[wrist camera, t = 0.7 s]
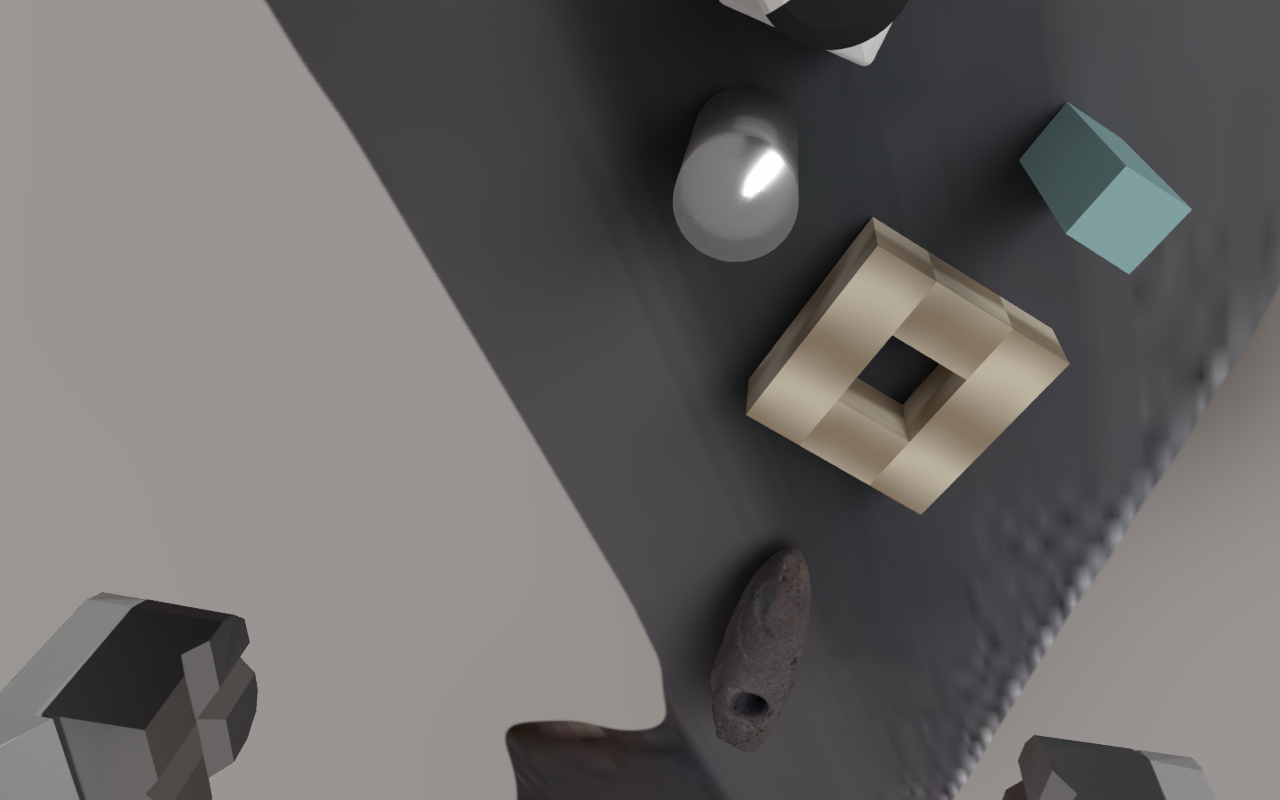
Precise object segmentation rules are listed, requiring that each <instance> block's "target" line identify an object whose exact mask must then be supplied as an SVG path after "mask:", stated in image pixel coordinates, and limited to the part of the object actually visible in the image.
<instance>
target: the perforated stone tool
mask: <svg viewBox="0 0 1280 800" xmlns="http://www.w3.org/2000/svg"><path fill="white" fill-rule="evenodd" d="M810 604H811V586H810V578H809V571H808V567H807V564H806V561H805V558H804V557H803V555H802V553H801V552H800V550H799V549H798V548H796V547H795V546H794V547H787V548H784V549H781V550H780V551H778V552H777V553H775V554H774V555H773V556H771V557H770V558H769V559H768V560H767V561H766V562H765V563H764V564H763V565H762V566H761V567H760V568H759V569H758V571H757V572H756V573H755V575H754V576H753V577H752V579H751V580H750V582H749V583H748V585H747V587H746V589H745V590H744V592H743V594H742V596H741V598H740V600H739V602H738V604H737V606H736V608H735V610H734V612H733V614H732V617H731V619H730V621H729V624H728V626H727V628H726V631H725V634H724V637H723V643H722V645H721V648H720V650H719V652H718V654H717V657H716V660H715V663H714V665H713V668H712V671H711V674H710V677H709V687H710V690H711V692H712V698H713V705H712V711H713V720H714V723H715V728H716V736H717V737H718V738H719V739H720V740H723V741H724V742H726V743H728V744H732V746H734V747H736V748H739V749H740V750H741V751H744V752H754V751H756V750H757V749H758V748H759V747H760V746H761V744H762V743H763V741H764V740H765V739H766V737H767V736H768V734H769V733H770V731H771V729H772V728H773V726H774V724H775V722H776V720H777V719H778V717H779V715H780V713H781V711H782V709H783V707H784V705H785V702H786V700H787V697H788V695H789V693H790V690H791V688H792V685H793V683H794V681H795V678H796V675H797V672H798V669H799V666H800V663H801V659H802V656H803V652H804V648H805V643H806V638H807V632H808V625H809V616H810Z"/></svg>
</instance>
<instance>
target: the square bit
mask: <svg viewBox="0 0 1280 800" xmlns="http://www.w3.org/2000/svg"><path fill="white" fill-rule="evenodd" d="M1019 161H1020V163H1021V164H1022V166H1023V167H1024V169H1025V170H1026V172H1027V174H1028V175H1029V177H1030V178H1031V180H1032V181H1033V183H1034V185H1035V186H1036V188H1037V189H1038V191H1039V192H1040V194H1041V196H1042V197H1043V199H1044V200H1045V202H1046V203H1047V205H1048V207H1049V208H1050V210H1051V211H1052V213H1053V214H1054V216H1055V217H1056V219H1057V221H1058V222H1059V224H1060V225H1061V227H1062V228H1063V230H1064V232H1065V233H1066V234H1067V235H1069V236H1070V237H1072V238H1074V239H1075V240H1077V241H1078V242H1080V243H1081V244H1083V245H1084V246H1086V247H1088V248H1089V249H1091V250H1092V251H1094V252H1095V253H1097V254H1098V255H1100V256H1101V257H1103V258H1105V259H1106V260H1108V261H1109V262H1111V263H1112V264H1114V265H1115V266H1117V267H1119V268H1120V269H1122V270H1123V271H1125V272H1126V273H1128V274H1130V273H1131V272H1132V271H1133V270H1134V269H1135V268H1136V267H1137V266H1138V265H1139V264H1140V263H1141V262H1142V261H1143V260H1144V259H1145V258H1146V257H1147V256H1148V254H1149V253H1150V252H1151V251H1152V250H1153V249H1154V248H1155V247H1156V246H1157V245H1158V244H1159V243H1160V242H1161V241H1162V240H1163V239H1164V238H1165V237H1166V236H1167V235H1168V234H1169V233H1170V232H1171V231H1172V230H1173V229H1174V228H1175V227H1176V225H1177V224H1178V223H1179V222H1180V221H1181V220H1182V219H1183V218H1184V217H1185V216H1186V215H1187V214H1188V213H1189V212H1190V211H1191V210H1192V209H1191V208H1190V207H1189V206H1188V205H1187V204H1186V203H1185V202H1184V201H1183V200H1182V199H1181V198H1180V197H1179V196H1178V195H1177V194H1176V193H1175V192H1174V191H1173V190H1172V189H1171V188H1170V187H1169V186H1168V185H1167V184H1166V183H1165V182H1164V181H1163V180H1162V179H1161V178H1160V177H1159V176H1158V175H1157V174H1156V173H1155V172H1154V171H1153V170H1152V169H1151V168H1150V167H1149V166H1148V165H1147V164H1146V163H1145V162H1144V161H1143V160H1142V159H1141V158H1140V157H1139V156H1138V155H1137V154H1136V153H1135V152H1134V151H1133V150H1132V149H1131V148H1130V147H1129V146H1128V145H1127V144H1126V143H1125V142H1124V141H1123V140H1122V139H1121V138H1120V137H1118V136H1117V135H1115V134H1114V133H1112V132H1111V131H1109V130H1108V129H1106V128H1105V127H1103V126H1102V125H1101V124H1099V123H1098V122H1096V121H1095V120H1093V119H1092V118H1090V117H1089V116H1087V115H1086V114H1084V113H1083V112H1081V111H1080V110H1078V109H1077V108H1075V107H1074V106H1072V105H1071V104H1069V103H1068V102H1067V103H1066V104H1065V105H1064V106H1063V108H1062V109H1061V110H1060V111H1059V112H1058V114H1057V115H1056V116H1055V117H1054V118H1053V120H1052V121H1051V122H1050V123H1049V124H1048V126H1047V127H1046V128H1045V129H1044V130H1043V132H1042V133H1041V134H1040V135H1039V137H1038V138H1037V139H1036V140H1035V141H1034V143H1033V144H1032V145H1031V146H1030V147H1029V149H1028V150H1027V151H1026V152H1025V153H1024V155H1023V156H1022V157H1021V158H1020V159H1019Z"/></svg>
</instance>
